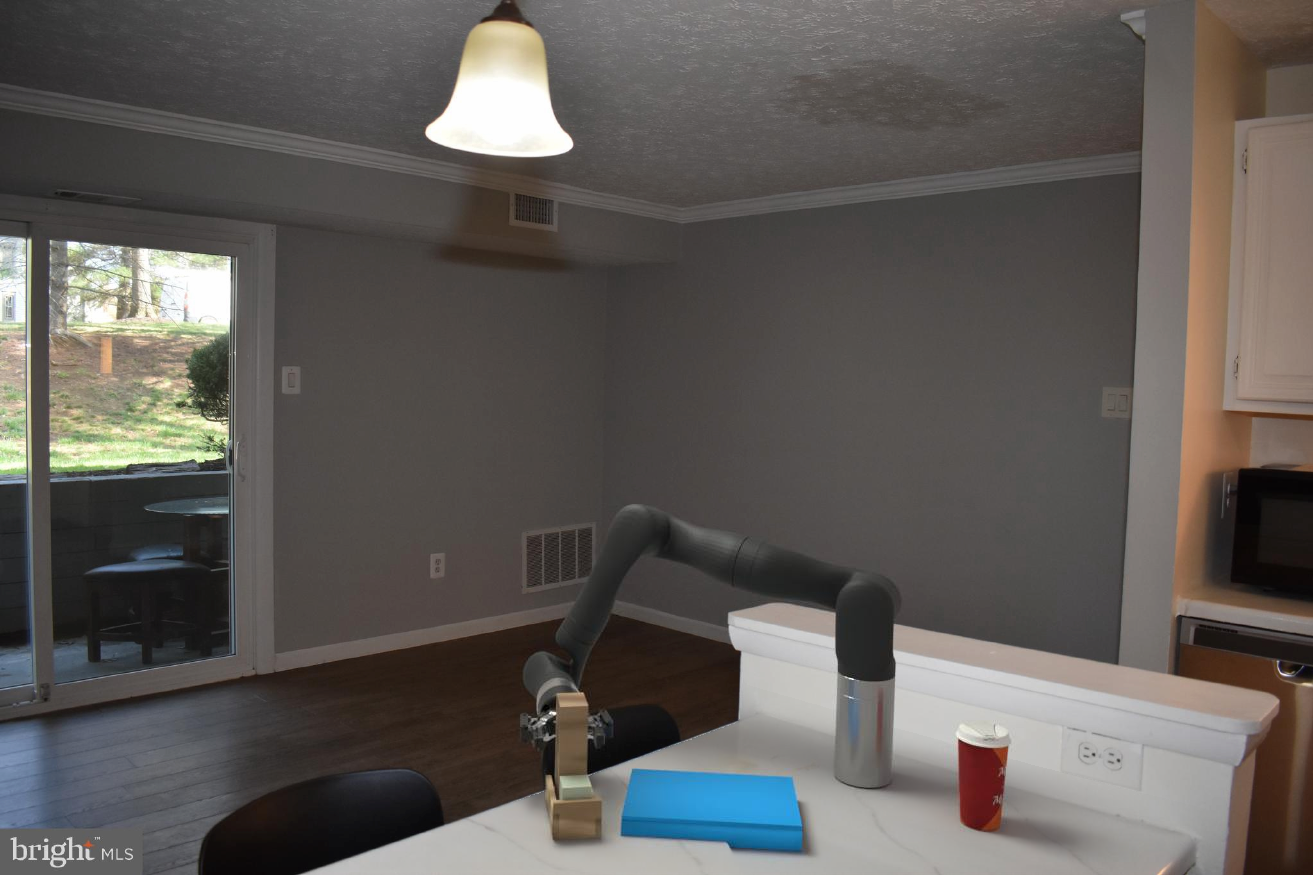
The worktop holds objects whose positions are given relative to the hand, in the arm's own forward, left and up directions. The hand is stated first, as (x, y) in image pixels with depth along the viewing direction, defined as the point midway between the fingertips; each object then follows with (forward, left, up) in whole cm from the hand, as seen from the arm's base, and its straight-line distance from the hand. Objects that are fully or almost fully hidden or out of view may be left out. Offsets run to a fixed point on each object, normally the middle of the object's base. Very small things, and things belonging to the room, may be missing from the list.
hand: (570, 743), depth 136 cm
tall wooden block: (+1, +1, -9) cm, 9 cm away
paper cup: (-19, +58, -10) cm, 61 cm away
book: (-5, +20, -11) cm, 24 cm away
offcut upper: (+7, +4, -5) cm, 9 cm away
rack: (+4, +2, -10) cm, 11 cm away
